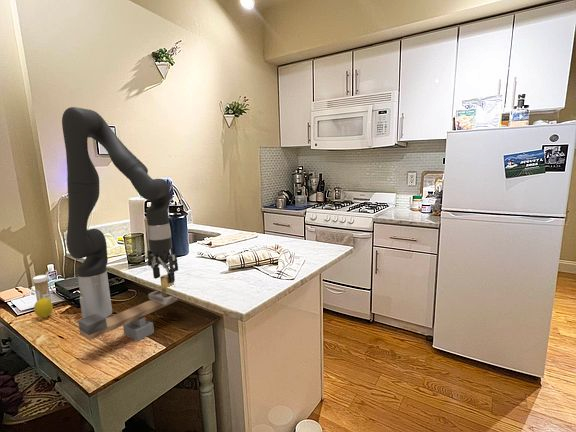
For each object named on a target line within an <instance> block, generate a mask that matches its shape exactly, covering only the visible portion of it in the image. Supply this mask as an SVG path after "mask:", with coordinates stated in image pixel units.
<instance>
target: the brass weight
mask: <svg viewBox="0 0 576 432" xmlns="http://www.w3.org/2000/svg"><path fill="white" fill-rule="evenodd" d="M159 278H160V286H161V288H160V289H162V296H163V297H170V295H168V294H166V289H167V287H170V286H172V285H174V286H175V281H174V282H173V283H168V276H167V274H163V275H160V277H159Z"/></svg>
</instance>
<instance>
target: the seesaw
mask: <svg viewBox="0 0 576 432" xmlns="http://www.w3.org/2000/svg"><path fill="white" fill-rule="evenodd" d="M158 290H159V289H158ZM158 290H155V291H152V292H149V293H148V299H149V300H148V301H144V302H142V303H140V304H137V305H135V306H132V307H131V308H128V309H126V310H123V311H120V312H118V313H116V314H113V315H110V316H109V317H107V318H104V317H102V316H100V315H98V314H97V313H95V314H93V315H90V316H88V317H85V318H80V319H77V322H78V329H79V334H80V335H81V336H82V337H84V338H86V339H87V340H89V341H91V340H93V339H96V338H98V337H101V336H103V335H104V334H106V333H109V332H112V331H113V330H116V329H118V328H119V327H123V325H125V324H127V323H129V322H131V321H134V320H136V319H138V318H140V317H142V316H144V317H145V316H147V315H149V314H151V313H153V312H157V311H158V310H160V309H162V308H164V307H167V306H169V305H171V304H174V303H175V302H178V301H180V300H179V299H177V298H175V297H174V296H170V297H163V296H162V292H160V291H158Z"/></svg>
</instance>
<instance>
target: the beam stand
mask: <svg viewBox="0 0 576 432" xmlns="http://www.w3.org/2000/svg"><path fill="white" fill-rule="evenodd" d="M122 329H123V335H125V336H127V337H129V338H130V339H132V340H134V341H136V342H138V341H141V340H143V339H145V338H146V337H149V336H151V335H152V334H154V333H155V327H154V322H153V321H150V320H147V319H146V317H145V316H142V317H140V318H138V319H136V320H134V321H131V322H129V323H127V324H125V325H122Z"/></svg>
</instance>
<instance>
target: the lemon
mask: <svg viewBox="0 0 576 432" xmlns="http://www.w3.org/2000/svg"><path fill="white" fill-rule="evenodd" d="M34 303H35V304H34V306H33V309H34V310H33V311H34V314H35V315H36V317H39V318H44V319H46V318H47V317H48V316H50V315H51V314H52V313H53V309H54V307H53V306H54V305H53V302H52V300H51V301H50V300H49V299H46V298H41V299H40V300H38V301H37V300H36V302H34Z"/></svg>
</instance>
